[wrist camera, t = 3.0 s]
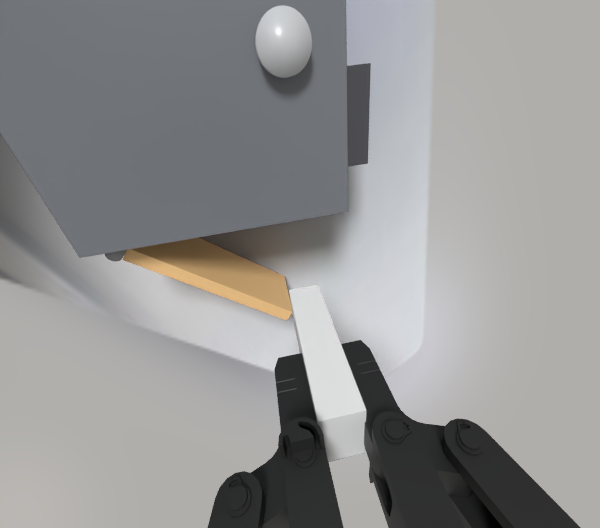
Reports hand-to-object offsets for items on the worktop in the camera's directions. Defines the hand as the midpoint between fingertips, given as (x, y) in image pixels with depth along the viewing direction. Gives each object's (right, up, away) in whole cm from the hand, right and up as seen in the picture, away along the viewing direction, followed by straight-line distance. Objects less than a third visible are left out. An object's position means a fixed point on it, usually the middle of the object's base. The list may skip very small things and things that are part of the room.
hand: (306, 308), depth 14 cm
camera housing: (-7, +13, +6) cm, 16 cm away
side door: (-8, +4, +11) cm, 14 cm away
